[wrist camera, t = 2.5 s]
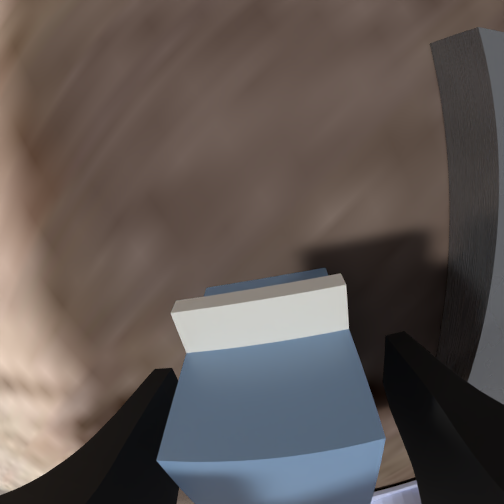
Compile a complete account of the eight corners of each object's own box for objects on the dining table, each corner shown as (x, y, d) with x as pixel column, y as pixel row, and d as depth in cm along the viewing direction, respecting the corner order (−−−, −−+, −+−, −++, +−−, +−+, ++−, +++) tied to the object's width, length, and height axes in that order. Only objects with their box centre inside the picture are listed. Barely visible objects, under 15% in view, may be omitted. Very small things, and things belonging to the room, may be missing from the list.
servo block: (336, 409, 12) (359, 538, 6) (251, 422, 12) (245, 550, 7) (320, 232, 9) (392, 392, 3) (197, 254, 9) (126, 421, 4)
